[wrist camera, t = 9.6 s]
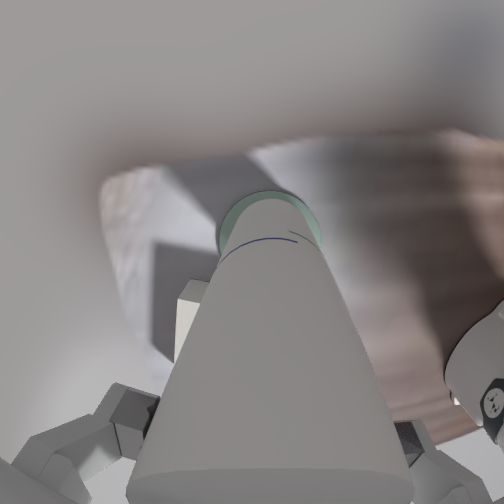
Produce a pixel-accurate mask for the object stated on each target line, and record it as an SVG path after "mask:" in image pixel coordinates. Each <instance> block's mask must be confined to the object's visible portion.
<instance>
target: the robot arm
mask: <svg viewBox="0 0 504 504" xmlns="http://www.w3.org/2000/svg"><path fill="white" fill-rule="evenodd" d="M445 382H446V385H447V387H448V388H449V389H450V390H451V392H452V394H451V399H452V402H453V403H454V404H455V405H459V404H461V406H462V407H463V408H464V409H465V410H466V412H467V413H468V414H469V415H470V417H471V418H472V419H473V420H474V422H475V423H476V424H477V425H479V426H483V427H484V429H485V430H486V432H487V434H488V436H489V438H491V440H492V441H493V442H494V443H495V444H499V446H500V448H501V449H502V451H503V453H504V300H503V301H502V302H501V303H500V304H499V305H498V306H497V307H496V309H495V310H494V311H493V312H492V313H491V314H489V315H488V316H487V317H485V318H483V319H482V320H481V321H479V322H478V323H477V324H475V325H474V326H473V327H472V328H471V329H470V330H469V331H468V332H467V333H466V334H465V336H464V337H463V338H462V339H461V340H460V342H459V343H458V345H457V346H456V348H455V349H454V351H453V353H452V355H451V357H450V359H449V361H448V364H447V367H446V371H445ZM160 399H161V398H160V396H158V395H154V394H150V393H147V392H144V391H141V390H138V389H135V388H132V387H128V386H125V385H122V384H119V383H114V384H113V385H112V386H111V387H110V389H109V390H108V392H107V393H106V395H105V397H104V398H103V400H102V401H101V403H100V405H99V406H98V408H97V409H96V411H95V412H94V414H93V415H90V414H87V415H85V416H82V417H80V418H77V419H75V420H73V421H71V422H68V423H65V424H63V425H60V426H58V427H55V428H53V429H50V430H48V431H45V432H42V433H40V434H37V435H34V436H31V437H30V438H29V440H28V441H27V442H26V444H25V445H24V447H23V448H22V450H21V451H20V452H19V454H18V455H17V457H16V458H15V459H14V461H13V462H12V464H9V463H8V462H6V461H5V460H3V459H2V458H1V457H0V504H90V502H91V500H92V498H91V496H90V494H89V492H88V490H87V489H86V487H85V485H84V484H83V482H84V481H86V480H87V479H89V478H91V477H92V476H94V475H96V474H97V473H99V472H100V471H102V470H104V469H105V468H107V467H108V466H110V465H111V464H113V463H114V462H116V461H117V460H119V459H120V458H122V457H126V458H129V459H132V460H136V461H137V458H138V456H139V453H140V450H141V448H142V445H143V443H144V440H145V437H146V435H147V432H148V430H149V427H150V425H151V422H152V420H153V417H154V414H155V412H156V409H157V407H158V404H159V402H160ZM393 422H394V425H395V428H396V431H397V434H398V437H399V440H400V443H401V445H402V448H403V451H404V454H405V458H406V461H407V464H408V467H409V470H410V473H411V476H412V480H413V483H414V486H415V495H414V498H413V500H412V502H413V503H414V504H504V497H502V498H500V499H499V500H497V501H494V502H492V500H491V498H490V495H489V493H488V491H487V489H486V487H485V485H484V483H483V481H482V479H481V478H480V477H479V476H477V475H475V474H474V473H472V472H471V471H470V470H468V469H466V468H465V467H464V466H462V465H461V464H459V463H458V462H456V461H455V460H454V459H452V458H451V457H449V456H448V455H446V454H445V453H444V452H442V451H441V450H436V447H435V445H434V443H433V441H432V439H431V437H430V435H429V433H428V431H427V429H426V427H425V425H424V423H423V421H422V420H420V419H417V420H402V421H393ZM121 456H122V457H121Z"/></svg>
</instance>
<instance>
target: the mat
mask: <svg viewBox="0 0 504 504" xmlns="http://www.w3.org/2000/svg"><path fill="white" fill-rule="evenodd" d="M265 199H279V200H283V201H286V202H288V203H290V204H292V205H294V206H295V207H296V208H297V209H298V210H299V211H300V212H301V213H302V214H303V216H304V217H305V219H306V221H307V223H308V225H309V227H310V229H311V231H312V233H313V235H314V237H315V239H316V241H317V243H318V245H319V247H320V248H321V234H320V229H319V225H318V223H317V220H316V219H315V217H314V215H313V213H312V212H311V211H310V210H309V208H308V207H307V206H306V205H305V204H304V203H302V202H301V201H300V200H299V199H297V198H295V197H293V196H291V195H289V194H286V193H283V192H278V191H262V192H257V193H254V194H251V195H249V196H247V197H245V198H243V199H242V200H240V201H239V202H238V203H236V204H235V205H234V206H233V207H232V208H231V209H230V211H229V212H228V214H227V215H226V217H225V219H224V221H223V223H222V226H221V229H220V234H219V248H220V253H221V255H222V253H223V251H224V249H225V246H226V244H227V242H228V240H229V237H230V235H231V233H232V231H233V228H234V226H235V224H236V222H237V220H238V218H239V216H240V215H241V213H242V212H243V211H244V210H245V209H246V208H247V207H248V206H250V205H252V204H253V203H255V202H258V201H260V200H265Z"/></svg>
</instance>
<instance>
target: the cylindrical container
mask: <svg viewBox="0 0 504 504" xmlns="http://www.w3.org/2000/svg"><path fill="white" fill-rule="evenodd" d="M414 495H415V486H414V483H413V480H412V476H411V473H410V470H409V467H408V464H407V461H406V458H405V454H404V451H403V448H402V445H401V443H400V440H399V437H398V434H397V431H396V428H395V425H394V422H393V420H392V417H391V414H390V411H389V409H388V406H387V403H386V401H385V398H384V395H383V393H382V390H381V387H380V385H379V382H378V380H377V377H376V375H375V372H374V370H373V367H372V365H371V362H370V360H369V357H368V355H367V352H366V350H365V347H364V345H363V343H362V340H361V338H360V335H359V333H358V331H357V328H356V326H355V324H354V321H353V319H352V317H351V314H350V312H349V310H348V308H347V305H346V303H345V301H344V299H343V296H342V294H341V292H340V290H339V288H338V285H337V283H336V281H335V279H334V277H333V275H332V272H331V270H330V268H329V266H328V264H327V262H326V260H325V258H324V255H323V253H322V251H321V249H320V247H319V245H318V243H317V241H316V239H315V237H314V235H313V233H312V231H311V229H310V227H309V225H308V223H307V221H306V219H305V217H304V216H303V214H302V213H301V212H300V211H299V210H298V209H297V208H296V207H295V206H294V205H292V204H290V203H288V202H286V201H283V200H279V199H265V200H260V201H258V202H255V203H253V204H252V205H250V206H248V207H247V208H246V209H245V210H244V211H243V212H242V213H241V215H240V216H239V218H238V220H237V222H236V224H235V226H234V228H233V231H232V233H231V235H230V237H229V240H228V242H227V244H226V246H225V249H224V251H223V253H222V255H221V258H220V260H219V262H218V264H217V267H216V269H215V271H214V273H213V276H212V278H211V280H210V283H209V285H208V287H207V289H206V292H205V294H204V296H203V299H202V301H201V303H200V306H199V308H198V310H197V313H196V315H195V317H194V320H193V322H192V324H191V327H190V329H189V331H188V334H187V336H186V339H185V341H184V343H183V346H182V348H181V351H180V353H179V355H178V358H177V360H176V363H175V365H174V367H173V370H172V372H171V375H170V377H169V380H168V382H167V385H166V387H165V389H164V392H163V394H162V397H161V399H160V402H159V404H158V407H157V409H156V412H155V414H154V417H153V420H152V422H151V425H150V427H149V430H148V432H147V435H146V437H145V440H144V443H143V445H142V448H141V450H140V453H139V456H138V458H137V461H136V464H135V466H134V469H133V471H132V475H131V477H130V480H129V482H128V485H127V489H126V497H127V499H128V502H129V504H410V503H411V501H412V500H413V498H414Z"/></svg>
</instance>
